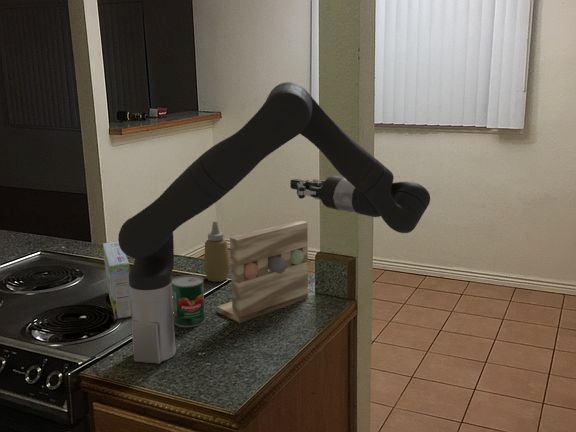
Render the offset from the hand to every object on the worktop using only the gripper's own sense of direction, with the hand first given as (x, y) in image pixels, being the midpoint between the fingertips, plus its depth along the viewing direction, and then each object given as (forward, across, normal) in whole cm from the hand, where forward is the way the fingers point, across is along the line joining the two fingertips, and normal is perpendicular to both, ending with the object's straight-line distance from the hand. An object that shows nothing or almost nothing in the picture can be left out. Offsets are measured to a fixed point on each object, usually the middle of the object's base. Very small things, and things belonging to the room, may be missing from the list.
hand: (292, 183), depth 153 cm
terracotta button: (+10, +7, +25) cm, 28 cm away
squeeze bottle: (+38, -5, +36) cm, 53 cm away
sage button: (+10, -9, +25) cm, 28 cm away
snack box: (+42, +26, +36) cm, 61 cm away
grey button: (+8, -1, +25) cm, 26 cm away
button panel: (+13, -1, +36) cm, 38 cm away
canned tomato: (+19, +19, +36) cm, 45 cm away
